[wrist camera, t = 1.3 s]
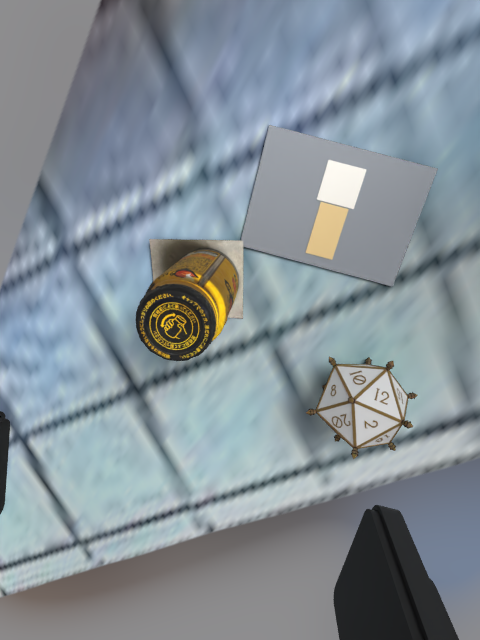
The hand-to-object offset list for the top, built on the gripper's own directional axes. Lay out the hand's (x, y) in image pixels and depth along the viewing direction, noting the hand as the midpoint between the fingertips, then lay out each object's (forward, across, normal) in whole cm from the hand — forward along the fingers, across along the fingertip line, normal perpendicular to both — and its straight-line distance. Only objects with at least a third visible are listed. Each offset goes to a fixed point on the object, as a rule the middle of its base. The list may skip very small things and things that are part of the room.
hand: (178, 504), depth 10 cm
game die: (+27, -12, +6) cm, 31 cm away
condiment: (+27, +5, 0) cm, 28 cm away
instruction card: (+27, -6, -9) cm, 29 cm away
